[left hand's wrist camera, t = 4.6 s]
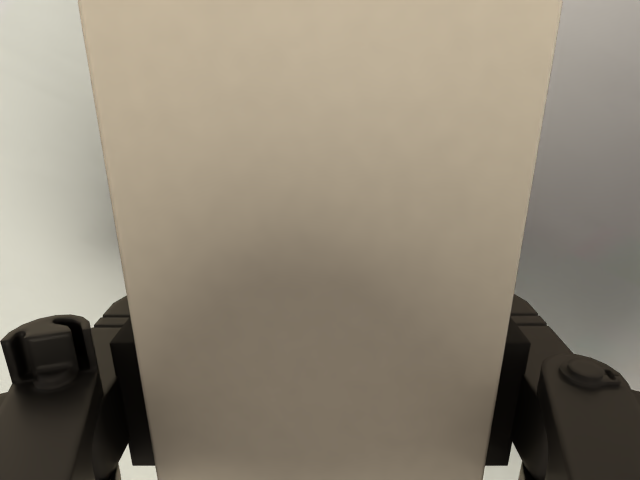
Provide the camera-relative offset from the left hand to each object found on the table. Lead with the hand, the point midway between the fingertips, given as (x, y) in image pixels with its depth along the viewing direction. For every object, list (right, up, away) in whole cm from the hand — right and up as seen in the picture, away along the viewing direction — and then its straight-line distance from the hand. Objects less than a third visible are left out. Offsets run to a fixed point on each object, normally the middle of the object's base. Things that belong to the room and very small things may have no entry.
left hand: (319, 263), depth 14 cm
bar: (0, -25, +10) cm, 27 cm away
